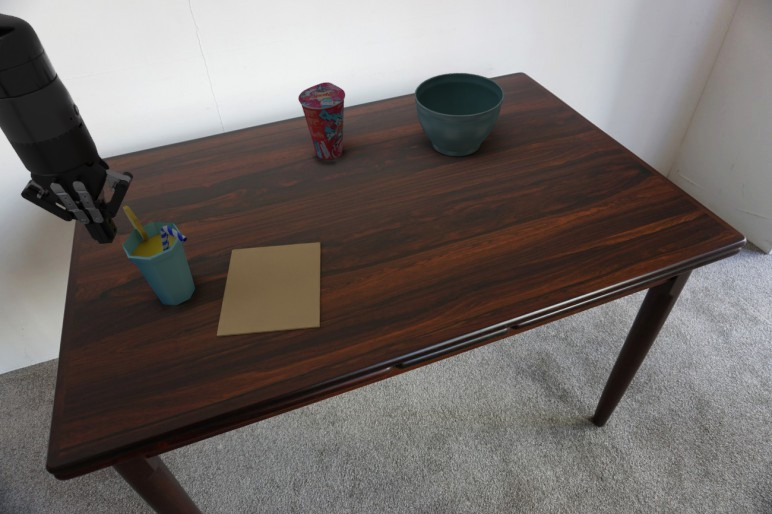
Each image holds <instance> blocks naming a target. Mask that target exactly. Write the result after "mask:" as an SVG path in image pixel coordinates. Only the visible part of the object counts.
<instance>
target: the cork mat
mask: <svg viewBox="0 0 772 514" xmlns="http://www.w3.org/2000/svg"><path fill="white" fill-rule="evenodd" d="M318 328H321V241H318V242H307V243H294V244H283V245H282V244H281V245H269V246H258V247H249V248H248V247H247V248H236V249H235V248H234V249H232V250H231V256H230V260H229V266H228V271H227V276H226V281H225V286H224V293H223V298H222V305H221V309H220V315H219V320H218V326H217V330H216V331H217V332H216V337H218V338H219V337H229V336H241V335H251V334H253V335H254V334H264V333H275V332H282V331H283V332H284V331H285V332H286V331H295V330H307V329H308V330H309V329H318Z"/></svg>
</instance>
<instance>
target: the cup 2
mask: <svg viewBox="0 0 772 514" xmlns="http://www.w3.org/2000/svg"><path fill="white" fill-rule="evenodd" d="M345 98H346V92H345V90H344V89H343V88H342V87H339V86H337V85H336V84H334V83H332V82H329V81H327V82H326V81H325V82H321V83H318V84H314V85H313V86H310V87H308V88H306V89H303V90H302V91H301V92H300V93H299V95H298V99H297V100H298V102H299V104H300V105H301V108H302V112H303V115H304V118H305V122H306V125H307V128H308V131H309V134H310V135H309V136H310V138H311V141H312V144H313V147H314V150H315V155H316V156H317V157H318V158H319V159H321V160H326V161H329V160H335V159H338V158H339V157H340V156H342V154H343V148H344V147H343V145H344V144H343V142H344V117H345V116H344V115H345V113H344V112H345Z"/></svg>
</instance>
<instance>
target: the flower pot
mask: <svg viewBox="0 0 772 514" xmlns="http://www.w3.org/2000/svg"><path fill="white" fill-rule="evenodd" d="M504 99H505V91H504V89H503V87H502V86H501V85H500V83H498V82H497V81H495V80H493V79H491V78H489V77H488V76H487V77H486V76H484V75H479V74H474V73H468V72H450V73H442V74H438V75H435V76H431V77H429V78H427V79H425V80H424V81H422V82H421V83H419V85H418V86H417V87H416V89H415V91H414V101H415V106H416V107H415V108H416V114H417V118H418V121H419V124H420V126H421V128H422V130H423V132H424V135H426V137H427V138H428V139H429V141H431V145H432V147H433V148H434V150H436V151H437V152H438V153H440V154H442V155H445V156H449V157H466V156H469V155H472V154H473V153H475V152H477V151H478V150H479V149H480V147H481V144H482V143H483V142H484V141H485V140H486V139H487V138H488V137H489V135H490V134H491V132H492V131H493V129H494V127H495V126H496V123H497V121H498V119H499V116H500V112H501V108H502V104H503V102H504Z"/></svg>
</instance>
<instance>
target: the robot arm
mask: <svg viewBox="0 0 772 514" xmlns="http://www.w3.org/2000/svg"><path fill="white" fill-rule="evenodd" d="M0 130H1V132H2V133H3V134H4V136H5V138H6V139H7V141H8V143H9V144H10V146H11V148H12V149H13V150H14V152H15V153H16V155H17V157H18V158H19V161H20V162H21V163H22V165H23V166H24V167H25V169H26V170H27V171H28V172H30V174H29V175H30V179H29V180H28V182H27V183H26V185H25V187H24V188H23V190H22V191H21V192H20V197H21V198H23V199H24V200H26V201H28V202H30V203H32V204H34V205H35V206H36V207H39V208H40V209H42V210H43V211H46V212H48V213H50V214H52V215H54V216H56V217H57V218H60V219H61V220H63V221H65V222H73V221H78V222H80V223H81V224H83V225H84V226H85V228H86V230H87V232H88V234H89V235H90V237H91V238H92V240H94V241H95V242H96V241H97V243H98V244H99V245H105V244H112V243H113V242H114V240H115V238H116V235H117V234H118V227H117V226H116V224H115V222H114V220H113V219H114V218H115V217H116V216H117V213H118V212H119V210H120V207H121V205H122V203H123V201H124V199H125V197H126V195H127V192H128V190H129V188H130V186H131V183H132V182H133V179H134V175H133V174H132V173H131V172H129V171H124V172H122V173H119V172H117V171H115V170H113V169H111V168H110V165H109V164H108V162H107V161H105V159H103V157H101V156H100V154H99V152H98V149H97V146H96V143H95V141H94V139H93V137H92V135H91V133H90V131H89V128H88V126H87V124H86V123H85V121H84V119H83V117H82V115H81V113H80V109H79V107H78V105H76V103H75V101H74V99H73V97H72V95H71V93H70V91H69V90H68V88H67V87H66V85H65V84H64V82H63V81H62V79H61V78H60V76H59V74H58V73H57V71H56V69H55V68H54V66H53V63H52V61H51V59H50V57H49V55H48V54H47V51H46V49H45V47H44V44H43V43H42V41H41V39H40V37H39V36H38V34H37V32H36V30H35V29H34V26H32V25H31V24H30V23H29V22H28V21H27V20H25V19H23V18H21V17H18V16H14V15H11V14H6V13H1V12H0ZM106 182H108V184H109V185H108V187H109V189H110V191H111V192H113V194H112V196H111V198H110V201H107V199H106V198H105V190H104V187H105V185H106Z"/></svg>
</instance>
